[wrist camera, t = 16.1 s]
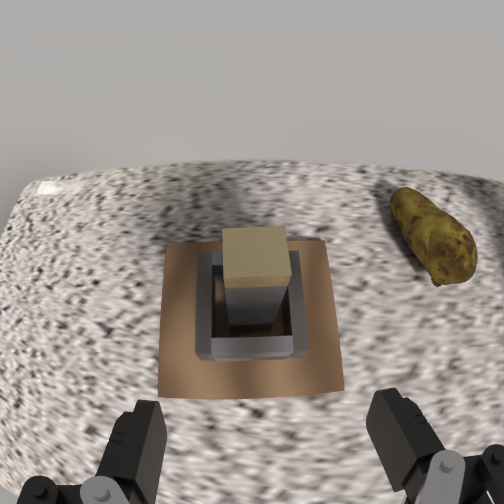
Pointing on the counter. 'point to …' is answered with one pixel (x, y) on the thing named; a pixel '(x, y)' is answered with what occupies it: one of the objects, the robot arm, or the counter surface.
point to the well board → (250, 343)
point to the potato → (435, 237)
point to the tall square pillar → (254, 276)
